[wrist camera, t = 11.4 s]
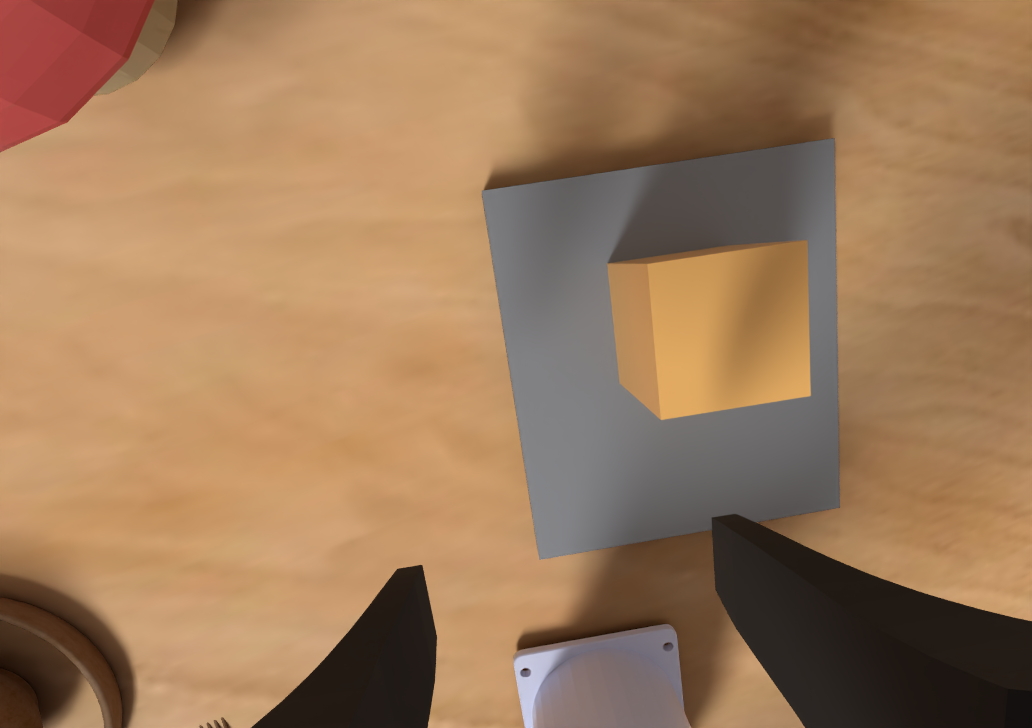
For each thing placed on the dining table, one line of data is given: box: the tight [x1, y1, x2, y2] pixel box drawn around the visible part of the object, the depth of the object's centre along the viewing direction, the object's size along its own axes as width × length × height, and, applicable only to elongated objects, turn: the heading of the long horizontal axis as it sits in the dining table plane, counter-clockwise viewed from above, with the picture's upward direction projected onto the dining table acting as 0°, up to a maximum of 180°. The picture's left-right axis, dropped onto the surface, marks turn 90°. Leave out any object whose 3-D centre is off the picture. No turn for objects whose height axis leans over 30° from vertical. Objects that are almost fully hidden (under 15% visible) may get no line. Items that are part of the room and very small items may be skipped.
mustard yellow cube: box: [607, 240, 811, 420], centre depth 18 cm, size 5×5×5 cm
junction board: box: [482, 138, 840, 560], centre depth 20 cm, size 16×14×4 cm
